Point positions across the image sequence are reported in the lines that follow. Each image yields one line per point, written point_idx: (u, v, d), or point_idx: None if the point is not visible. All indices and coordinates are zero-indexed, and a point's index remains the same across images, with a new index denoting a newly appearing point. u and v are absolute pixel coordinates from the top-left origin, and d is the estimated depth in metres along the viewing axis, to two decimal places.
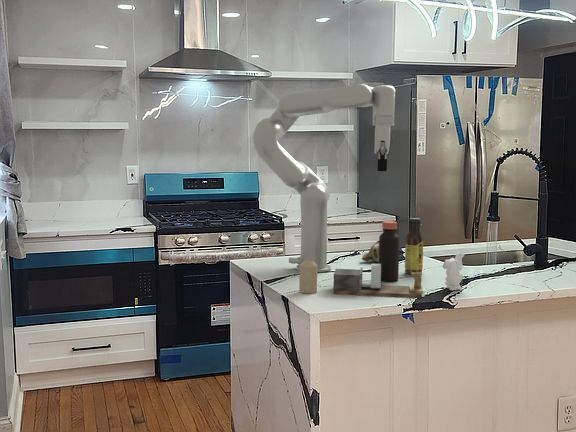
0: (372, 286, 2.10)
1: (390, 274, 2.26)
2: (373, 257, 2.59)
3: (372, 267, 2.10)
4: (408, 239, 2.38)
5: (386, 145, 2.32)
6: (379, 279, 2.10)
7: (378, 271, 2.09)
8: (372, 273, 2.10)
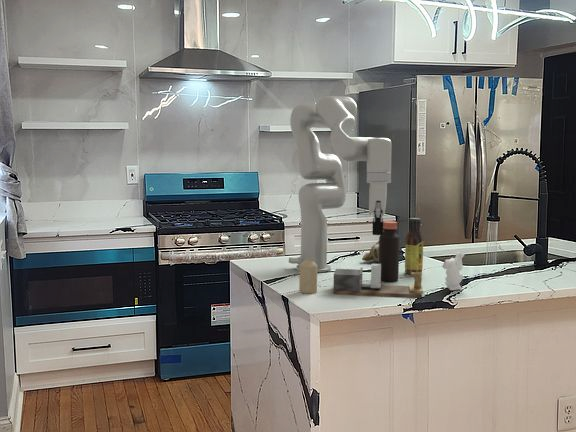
0: (372, 286, 2.10)
1: (390, 274, 2.26)
2: (373, 257, 2.59)
3: (372, 267, 2.10)
4: (408, 239, 2.38)
5: (382, 206, 2.04)
6: (379, 279, 2.10)
7: (378, 271, 2.09)
8: (372, 273, 2.10)
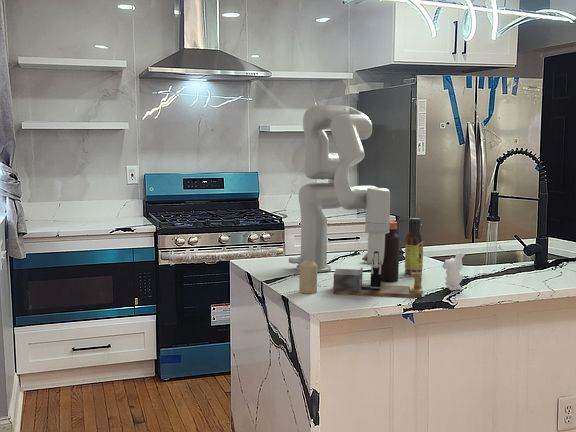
0: None
1: (390, 274, 2.26)
2: None
3: None
4: (408, 239, 2.38)
5: (380, 256, 2.06)
6: None
7: None
8: None
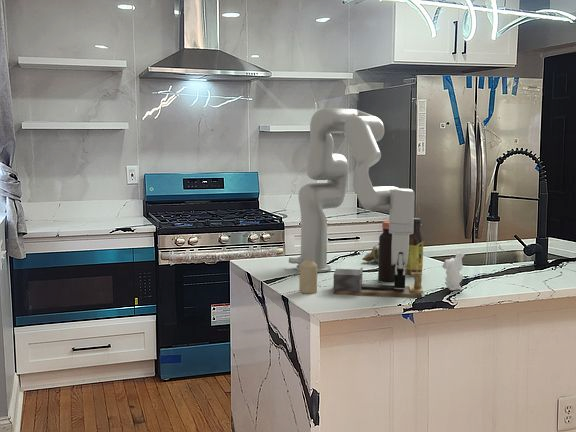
0: None
1: (390, 274, 2.26)
2: (374, 257, 2.58)
3: None
4: None
5: (405, 257, 2.05)
6: None
7: None
8: None
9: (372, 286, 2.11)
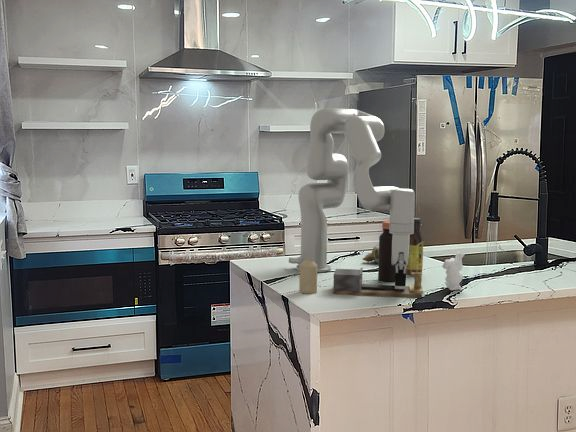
0: (396, 287, 2.09)
1: (390, 274, 2.26)
2: (375, 258, 2.58)
3: None
4: None
5: (405, 257, 2.05)
6: None
7: None
8: None
9: (372, 286, 2.11)
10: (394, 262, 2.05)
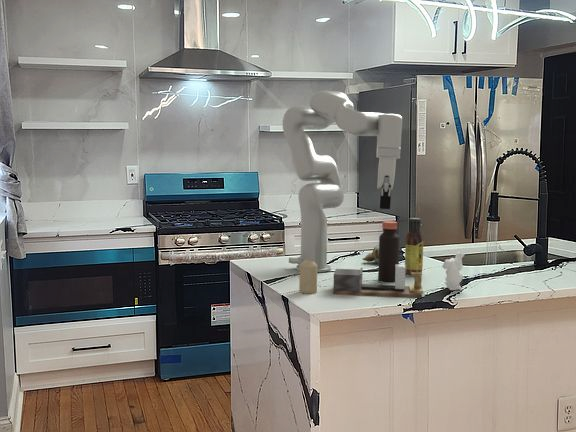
0: (396, 287, 2.09)
1: (390, 274, 2.26)
2: (375, 258, 2.58)
3: (396, 268, 2.09)
4: (408, 239, 2.38)
5: (390, 181, 2.09)
6: (403, 280, 2.09)
7: (402, 272, 2.08)
8: (396, 274, 2.09)
9: (372, 286, 2.11)
10: (379, 185, 2.10)
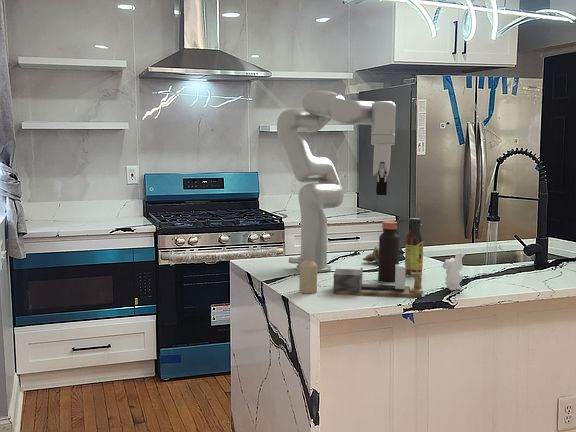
0: (396, 287, 2.09)
1: (390, 274, 2.26)
2: (375, 258, 2.57)
3: (396, 268, 2.09)
4: (408, 239, 2.38)
5: (386, 167, 2.11)
6: (403, 280, 2.09)
7: (402, 272, 2.08)
8: (396, 274, 2.09)
9: (372, 286, 2.11)
10: (375, 172, 2.12)
